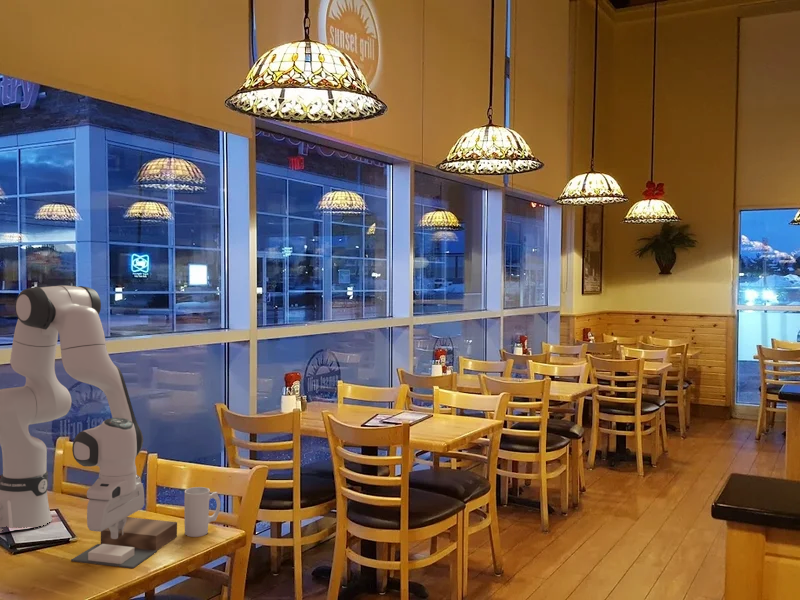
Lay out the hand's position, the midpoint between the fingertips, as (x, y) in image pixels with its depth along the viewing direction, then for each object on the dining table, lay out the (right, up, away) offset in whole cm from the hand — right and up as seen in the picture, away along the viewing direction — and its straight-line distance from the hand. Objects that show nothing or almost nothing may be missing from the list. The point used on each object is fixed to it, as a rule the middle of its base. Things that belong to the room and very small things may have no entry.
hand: (117, 537), depth 188 cm
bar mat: (0, -5, -1) cm, 5 cm away
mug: (+17, -5, +18) cm, 25 cm away
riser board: (+2, -4, +11) cm, 12 cm away
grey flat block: (0, -2, -2) cm, 4 cm away
